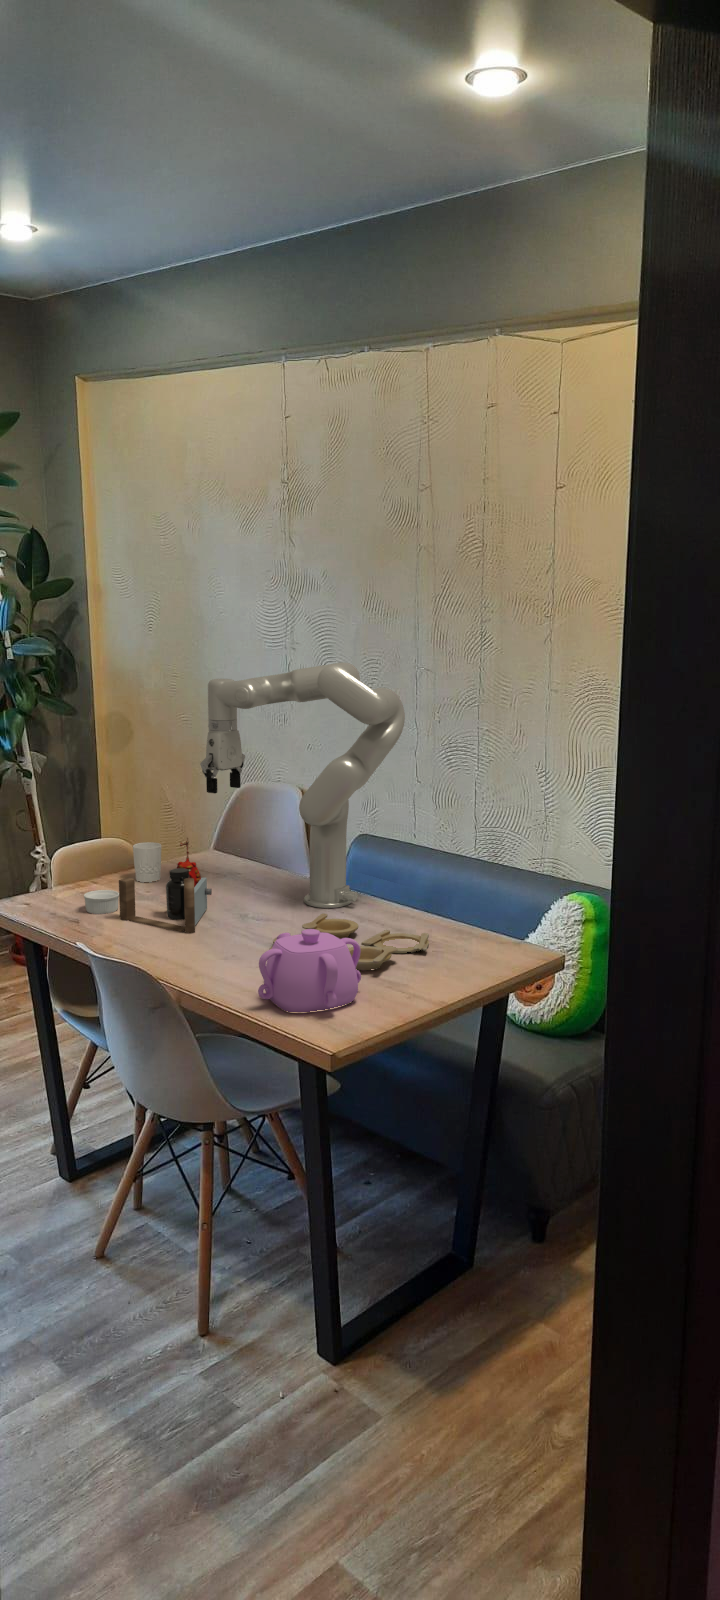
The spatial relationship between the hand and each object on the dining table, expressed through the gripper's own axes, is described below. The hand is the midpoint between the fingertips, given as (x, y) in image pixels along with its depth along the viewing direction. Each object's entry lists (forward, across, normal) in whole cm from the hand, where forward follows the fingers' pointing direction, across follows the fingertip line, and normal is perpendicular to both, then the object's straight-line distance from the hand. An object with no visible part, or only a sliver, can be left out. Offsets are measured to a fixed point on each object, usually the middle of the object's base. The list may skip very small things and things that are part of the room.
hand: (223, 790), depth 297 cm
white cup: (+28, -1, +27) cm, 39 cm away
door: (+28, -23, -11) cm, 37 cm away
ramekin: (+29, -30, +16) cm, 44 cm away
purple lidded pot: (+29, -52, -63) cm, 87 cm away
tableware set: (+29, -22, -54) cm, 65 cm away
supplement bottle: (+28, -24, -5) cm, 37 cm away
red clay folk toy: (+28, -6, +8) cm, 30 cm away
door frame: (+28, -32, -5) cm, 43 cm away
